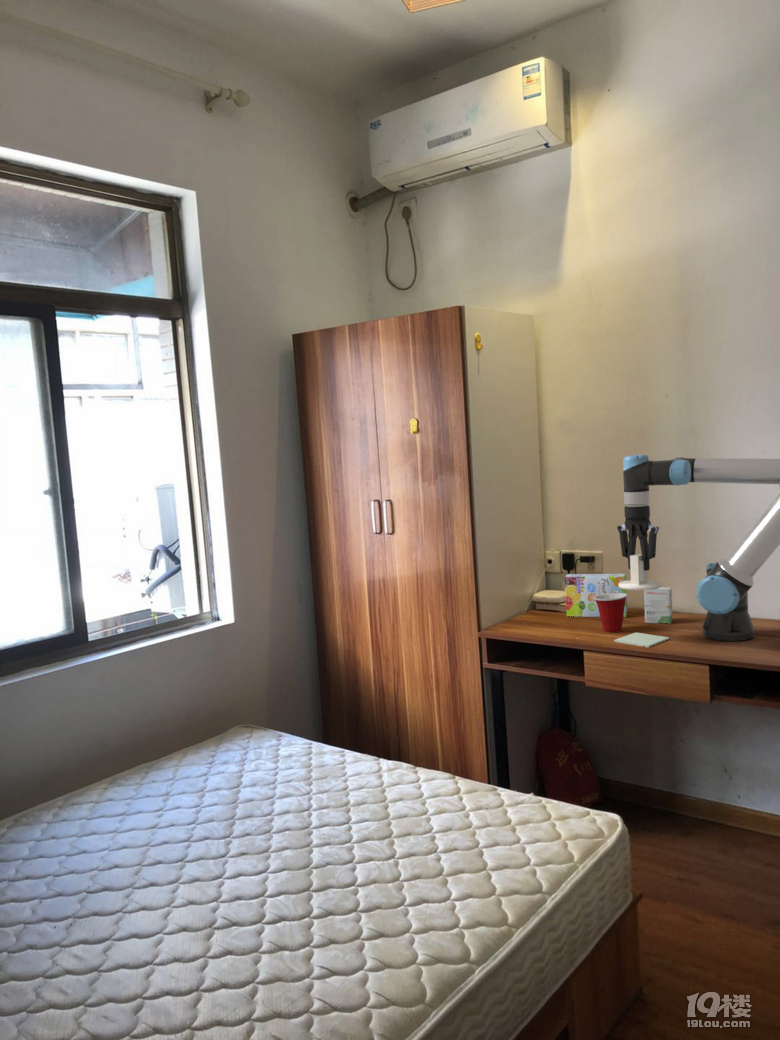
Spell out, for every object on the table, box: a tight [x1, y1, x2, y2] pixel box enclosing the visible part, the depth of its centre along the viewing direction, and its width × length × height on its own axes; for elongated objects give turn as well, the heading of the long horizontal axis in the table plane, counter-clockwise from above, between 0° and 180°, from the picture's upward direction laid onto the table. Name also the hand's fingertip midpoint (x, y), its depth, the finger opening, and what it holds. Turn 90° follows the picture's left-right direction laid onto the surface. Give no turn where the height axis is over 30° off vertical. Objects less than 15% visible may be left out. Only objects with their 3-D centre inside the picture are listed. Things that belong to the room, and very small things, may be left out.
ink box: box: [643, 586, 673, 625], centre depth 278 cm, size 9×5×12 cm, turn 63°
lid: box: [618, 552, 662, 591], centre depth 253 cm, size 13×13×10 cm
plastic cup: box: [594, 593, 628, 633], centre depth 270 cm, size 11×11×12 cm
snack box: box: [564, 573, 629, 618], centre depth 293 cm, size 21×6×15 cm, turn 69°
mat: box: [613, 632, 670, 648], centre depth 255 cm, size 12×12×1 cm
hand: (639, 580), depth 254 cm, fingers closed on lid, 3 cm apart
